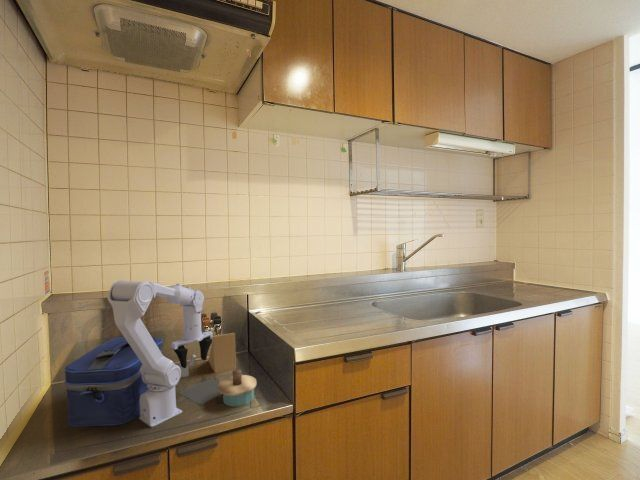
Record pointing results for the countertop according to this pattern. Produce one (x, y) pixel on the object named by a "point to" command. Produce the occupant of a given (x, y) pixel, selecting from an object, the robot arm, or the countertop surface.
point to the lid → (237, 384)
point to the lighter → (185, 370)
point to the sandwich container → (223, 353)
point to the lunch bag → (105, 385)
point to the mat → (202, 392)
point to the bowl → (238, 399)
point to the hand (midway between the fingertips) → (194, 363)
